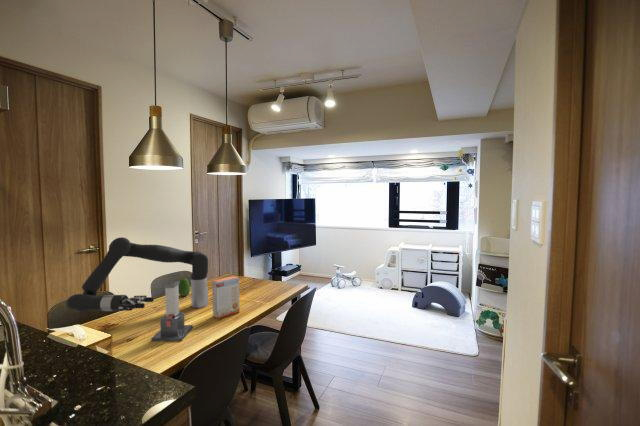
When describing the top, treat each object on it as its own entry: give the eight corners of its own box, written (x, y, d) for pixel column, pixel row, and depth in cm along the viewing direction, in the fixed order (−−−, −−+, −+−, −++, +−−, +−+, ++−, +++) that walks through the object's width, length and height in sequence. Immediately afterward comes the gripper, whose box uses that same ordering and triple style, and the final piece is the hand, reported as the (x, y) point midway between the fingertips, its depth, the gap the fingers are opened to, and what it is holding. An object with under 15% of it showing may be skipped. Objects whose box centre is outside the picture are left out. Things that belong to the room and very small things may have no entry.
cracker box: (234, 309, 182) (234, 275, 181) (239, 312, 178) (239, 277, 177) (212, 316, 172) (211, 279, 171) (217, 319, 168) (216, 281, 167)
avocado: (192, 294, 211) (192, 277, 210) (187, 297, 203) (187, 280, 202) (180, 294, 210) (180, 277, 210) (175, 297, 202) (175, 280, 202)
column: (171, 328, 152) (170, 281, 151) (180, 328, 152) (179, 281, 151) (165, 334, 146) (164, 284, 145) (174, 333, 146) (173, 284, 145)
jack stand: (164, 328, 156) (164, 308, 155) (192, 327, 157) (192, 307, 156) (151, 341, 142) (150, 319, 141) (181, 340, 143) (181, 318, 142)
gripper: (104, 300, 140) (140, 299, 140) (123, 290, 154) (155, 290, 155) (105, 316, 140) (141, 315, 141) (123, 305, 154) (156, 304, 155)
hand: (148, 302), depth 148 cm, fingers open, 8 cm apart
